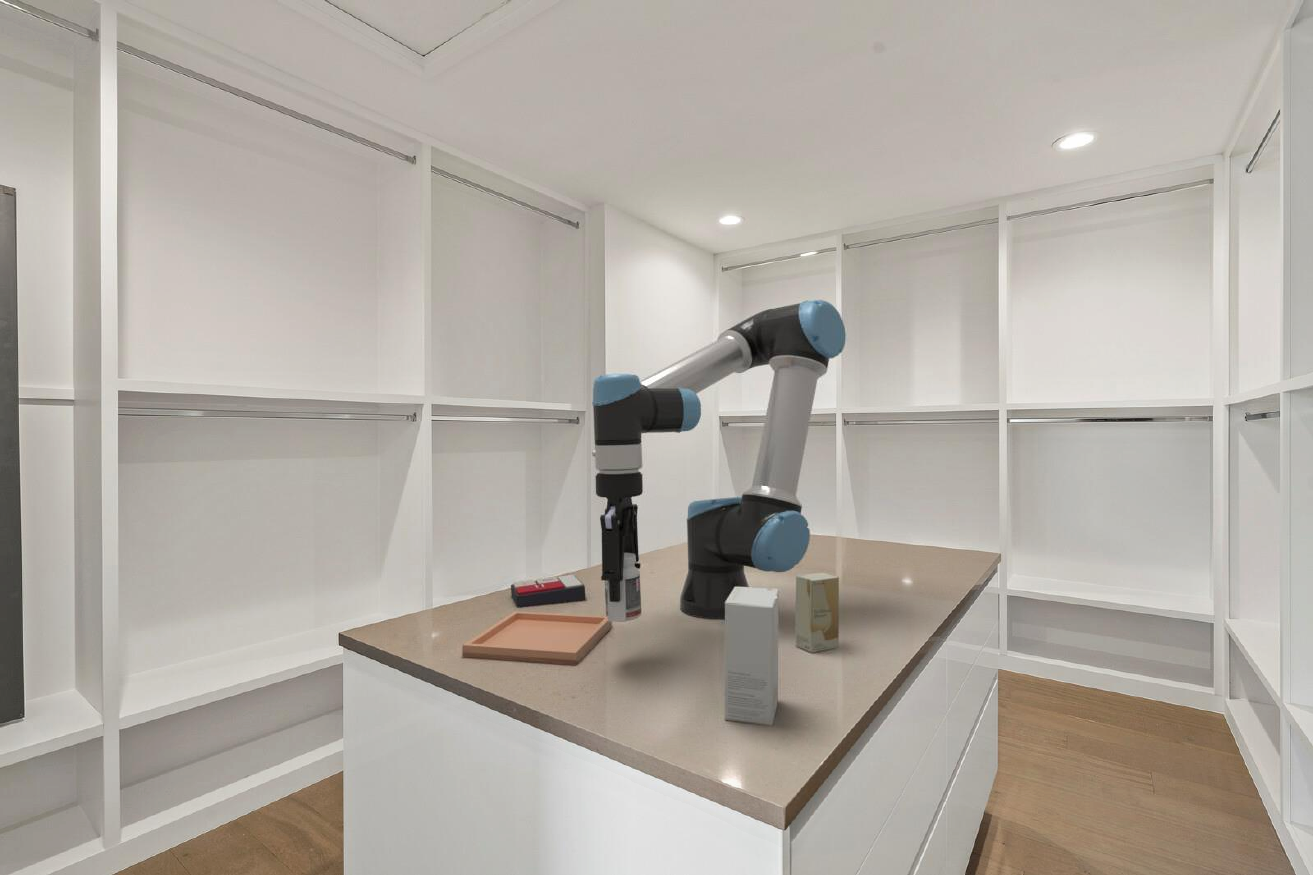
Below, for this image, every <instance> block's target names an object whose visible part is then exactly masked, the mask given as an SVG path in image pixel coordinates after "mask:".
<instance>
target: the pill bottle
mask: <svg viewBox="0 0 1313 875" xmlns="http://www.w3.org/2000/svg"><path fill="white" fill-rule="evenodd" d="M635 563H637V562H636V555H635V554H633V553H624V565H623V579H625V593H626V622H629V621H634V620H637V619H638V618H640V616H642V597H641V596H642V595H641V594H642V593H641V574H640V569H637V568H636V567H635ZM604 596H605V597H604V598H605V615H606V616H607V618H608V593H607V581H605V580H604Z"/></svg>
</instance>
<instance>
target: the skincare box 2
mask: <svg viewBox="0 0 1313 875" xmlns="http://www.w3.org/2000/svg"><path fill="white" fill-rule="evenodd" d="M839 584H840V577H839V576H835V575H832V574H829V573H826V572H818V573H817V572H816V573H807V574H801V575H799V574H798V575H796V576H795V588H796V589H795V646H797V647H799V648H801V649H803V650H806V651H808V652H809V653H815V652H820V651H826V650H827V651H828V650H830V649H831V650H833V649H838V648H839V641H840V640H839V638H840V637H839V634H840V633H839V624H840V623H839V613H840V610H839V608H840V607H839V605H840V596H839V595H840V593H839V591H840V587H839V586H840V585H839Z"/></svg>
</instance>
